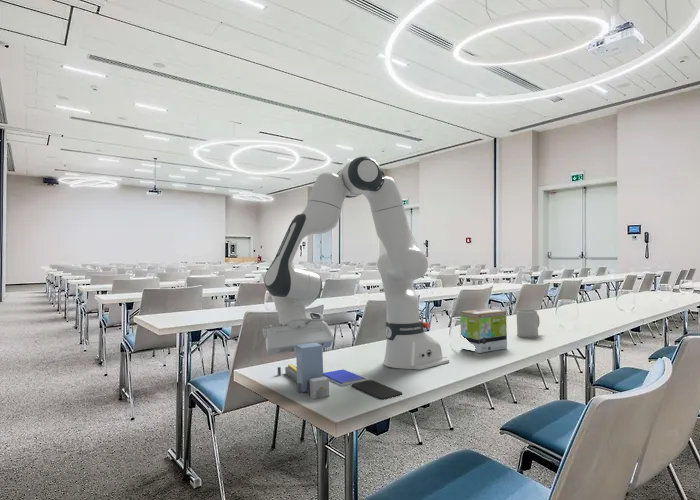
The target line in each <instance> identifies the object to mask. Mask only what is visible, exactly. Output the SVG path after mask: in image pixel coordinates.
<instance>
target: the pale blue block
mask: <svg viewBox="0 0 700 500" xmlns="http://www.w3.org/2000/svg"><path fill="white" fill-rule="evenodd" d="M323 352H324V351H323V348H322V345H320V344H318V343H309V344H300V345H296V356H295V357H296V367H297V382H296V384H297V383H301V393H304V392H307V381H308V380H310V379H313V378H319V377H323V373H324V358H323V357H324V356H323V355H324V354H323Z"/></svg>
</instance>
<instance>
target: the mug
mask: <svg viewBox="0 0 700 500" xmlns="http://www.w3.org/2000/svg"><path fill="white" fill-rule="evenodd" d="M515 313H516V335H517V337H520V338H528V339H529V338H530V339H531V338H537V337H539V327H540V323H541V322H540V321H541V320H540V316H539V314H538V311H537V310H534V309H518V310H516V312H515Z"/></svg>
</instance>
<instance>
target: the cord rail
mask: <svg viewBox="0 0 700 500" xmlns="http://www.w3.org/2000/svg"><path fill="white" fill-rule="evenodd" d="M287 365H288V366H285V369H284V371H285V374H286V375H287V376H288V377H289V378H291V379H292V380H293V381H294V382H296V389H297V390H296V392H297V394H299V393H302V391H301V383H297V366H296V365H293V364H287ZM281 369H282V368H281V366H278V367H277V376H278V375H279V376H281V375H282V372H281V371H282V370H281ZM306 392H307V393H306V394H307V395H308V396H309V397H311V398H312V399H319V398H325V397H330V380H329V379H328V378H327V377H319V378H313V379H310V380H308V381H307V391H306Z"/></svg>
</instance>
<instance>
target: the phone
mask: <svg viewBox="0 0 700 500" xmlns="http://www.w3.org/2000/svg"><path fill="white" fill-rule="evenodd" d="M350 386H351V388H353V389H355V390H357V391H359V392H362V393H364V394H366V395H368V396H371V397H373V398H375V399H378V400H383V401H384V399H385V400H389V399H392V397H393V398H397V397H400V395H401V396H402V395H403V392H402V391H399V390H398V389H395V388H393V387H391V386H388V385H385V384H382V383H380V382H378V381H376V380H372V379H368V380H367V379H366V381H363V382H358V383H354V384H350ZM396 396H397V397H396ZM388 398H389V399H388Z"/></svg>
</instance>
